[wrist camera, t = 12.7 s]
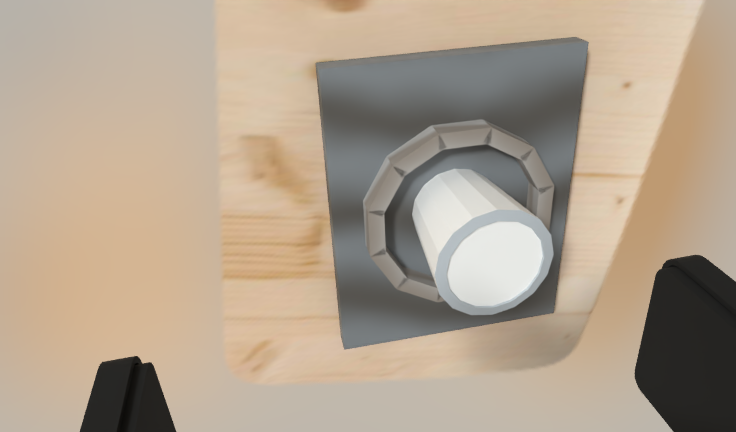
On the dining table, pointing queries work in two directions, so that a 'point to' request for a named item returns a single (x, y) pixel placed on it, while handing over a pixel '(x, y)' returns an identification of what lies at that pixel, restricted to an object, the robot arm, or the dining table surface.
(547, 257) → the white cup
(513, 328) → the dining table surface
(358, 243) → the ring board
